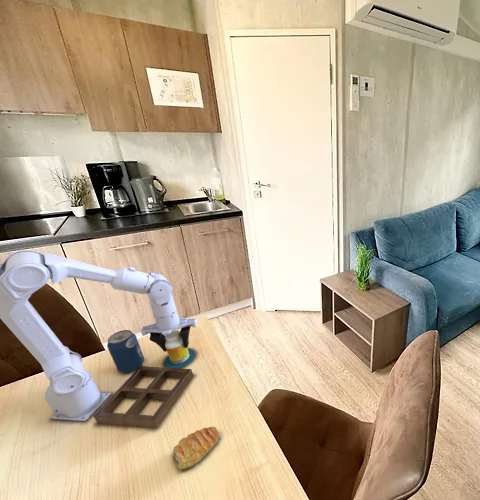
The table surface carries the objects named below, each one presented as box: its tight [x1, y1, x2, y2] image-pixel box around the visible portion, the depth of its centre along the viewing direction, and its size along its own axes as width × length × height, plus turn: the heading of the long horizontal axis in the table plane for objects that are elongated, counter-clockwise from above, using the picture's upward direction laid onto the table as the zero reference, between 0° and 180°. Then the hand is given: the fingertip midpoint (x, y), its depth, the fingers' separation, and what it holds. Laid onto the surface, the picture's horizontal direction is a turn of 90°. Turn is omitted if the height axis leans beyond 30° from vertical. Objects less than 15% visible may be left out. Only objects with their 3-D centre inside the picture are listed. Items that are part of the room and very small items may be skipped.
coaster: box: [163, 347, 196, 369], centre depth 92 cm, size 9×9×1 cm
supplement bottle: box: [165, 329, 189, 364], centre depth 90 cm, size 5×5×10 cm
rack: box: [92, 365, 194, 429], centre depth 78 cm, size 16×16×3 cm
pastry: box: [172, 426, 220, 470], centre depth 66 cm, size 9×7×4 cm
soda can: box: [106, 329, 145, 374], centre depth 86 cm, size 7×7×12 cm
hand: (176, 347), depth 90 cm, fingers closed on supplement bottle, 5 cm apart
